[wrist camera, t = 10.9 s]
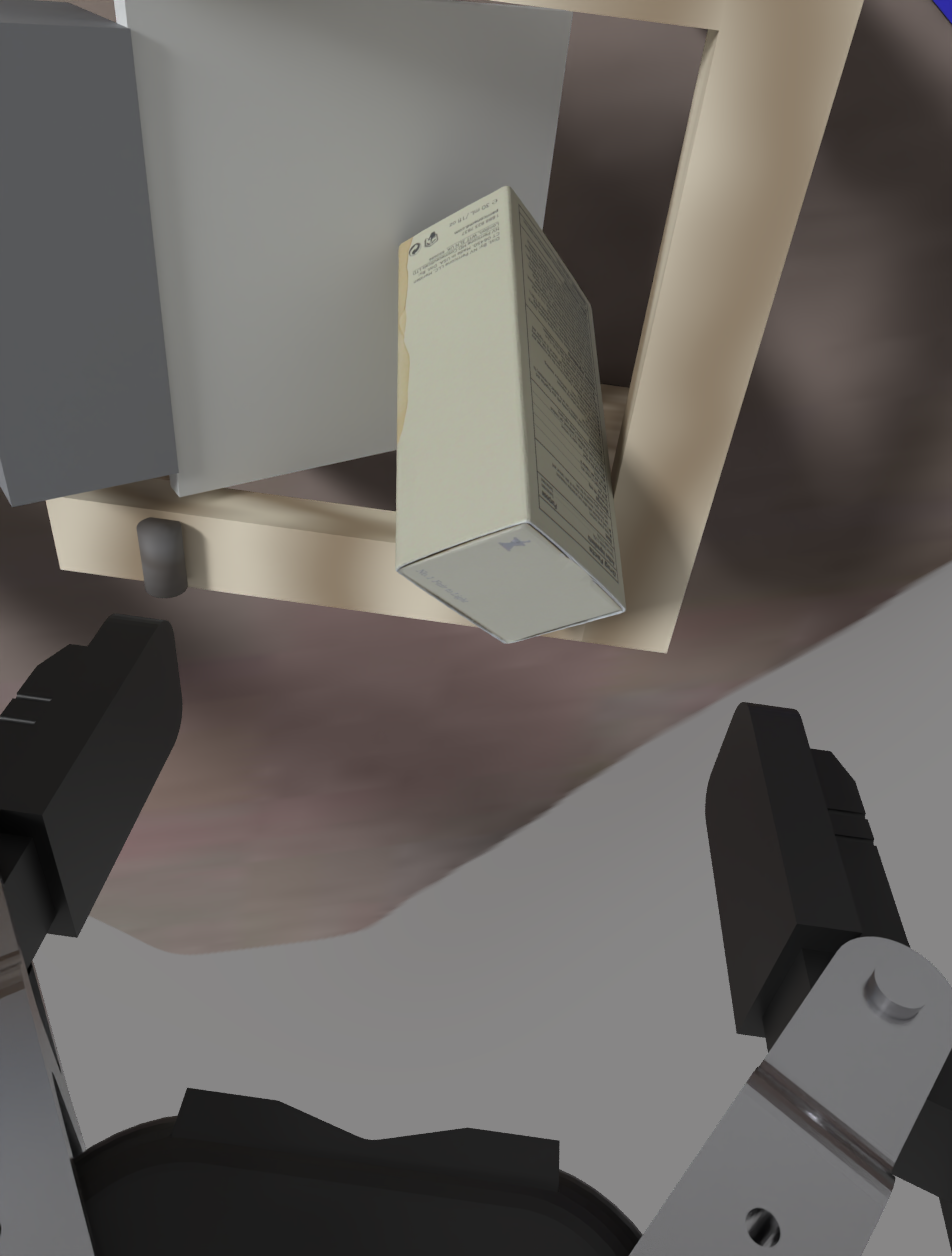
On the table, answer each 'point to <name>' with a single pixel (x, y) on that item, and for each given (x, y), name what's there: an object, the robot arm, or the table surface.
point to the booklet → (945, 8)
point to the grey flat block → (238, 221)
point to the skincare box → (501, 428)
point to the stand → (634, 417)
